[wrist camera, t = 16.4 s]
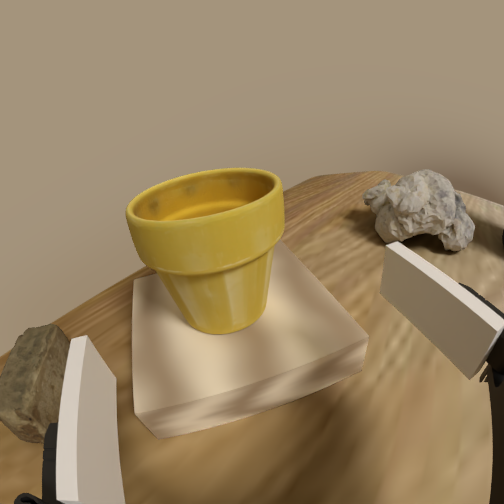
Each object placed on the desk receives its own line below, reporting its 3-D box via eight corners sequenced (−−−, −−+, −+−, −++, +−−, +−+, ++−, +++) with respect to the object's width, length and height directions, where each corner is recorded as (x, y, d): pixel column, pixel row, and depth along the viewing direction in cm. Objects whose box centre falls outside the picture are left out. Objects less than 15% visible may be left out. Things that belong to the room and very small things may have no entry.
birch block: (158, 439, 17) (134, 413, 15) (146, 309, 30) (133, 279, 28) (361, 370, 20) (369, 336, 18) (282, 269, 34) (279, 239, 32)
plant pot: (304, 274, 25) (297, 163, 21) (268, 368, 17) (246, 224, 12) (201, 264, 29) (179, 169, 24) (141, 336, 21) (92, 222, 16)
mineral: (389, 191, 45) (373, 144, 39) (483, 215, 32) (482, 161, 25) (355, 246, 43) (332, 200, 37) (457, 285, 30) (458, 235, 23)
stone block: (82, 353, 25) (58, 318, 23) (61, 450, 15) (23, 419, 13) (42, 357, 24) (19, 324, 22) (17, 444, 15) (-18, 413, 12)
